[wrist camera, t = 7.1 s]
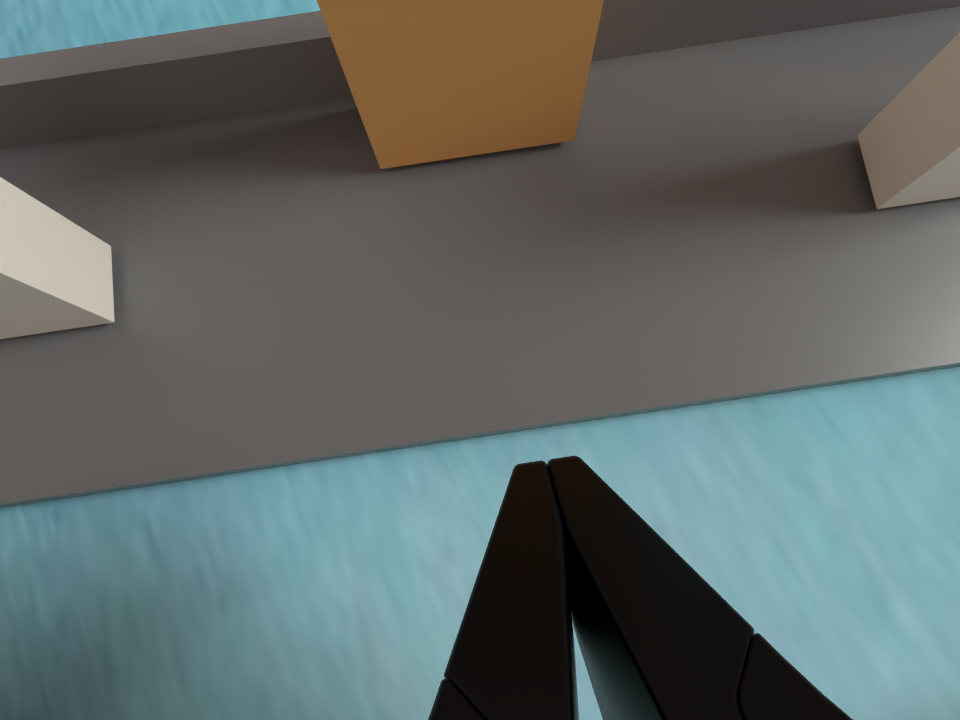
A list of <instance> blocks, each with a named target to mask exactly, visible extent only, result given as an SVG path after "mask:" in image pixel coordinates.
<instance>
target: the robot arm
mask: <svg viewBox="0 0 960 720" xmlns="http://www.w3.org/2000/svg"><path fill="white" fill-rule="evenodd" d="M572 621H573V625H574V629H575V632H576V636H577V639H578V643H579V646H580V649H581V652H582V655H583V659H584V662H585V665H586V668H587V671H588V674H589V677H590V680H591V683H592V687H593V690H594V693H595V696H596V699H597V702H598V705H599V708H600V711H601V714H602V718H603V720H853V719H852V718H850V717H849V716H848V715H847V714H846V713H844V712H843V711H842V710H841V709H840V708H839V707H837V706H836V705H835V704H834V703H833V702H831V701H830V700H829V699H828V698H827V697H825V696H824V695H823V694H822V693H821V692H820V691H819V690H818V689H817V688H816V687H815V686H814V685H812V684H811V683H810V682H809V681H808V680H807V679H806V678H805V677H804V676H803V675H802V674H801V673H800V672H798V671H797V670H796V669H795V668H794V667H793V666H792V665H791V664H790V663H789V662H788V661H787V660H786V659H784V658H783V657H782V656H781V655H780V654H779V653H778V652H777V651H776V650H775V649H774V648H773V647H772V646H771V645H770V644H769V643H768V642H767V641H766V640H765V639H764V638H763V637H762V636H761V635H760V634H758V633H757V634H754V629H753V627H752V626H751V625H750V624H749V623H748V622H747V621H746V620H745V619H744V618H743V617H742V616H741V615H740V614H739V613H738V612H736V611H735V610H734V609H733V608H732V607H731V606H730V605H729V604H728V603H727V602H726V601H725V600H724V599H723V598H722V597H721V596H720V595H719V594H718V593H717V592H716V591H715V590H714V589H713V588H712V587H711V586H710V585H709V584H708V583H707V582H706V581H705V580H704V579H703V578H702V577H701V576H700V575H699V574H698V573H697V572H696V571H695V570H694V569H693V568H692V567H691V566H690V565H689V564H688V563H687V562H686V561H685V560H684V559H683V558H682V557H680V556H679V555H678V554H677V553H676V552H675V551H674V550H673V549H672V548H671V547H670V546H669V545H668V544H667V543H666V542H665V541H664V540H663V539H662V538H661V537H660V536H659V535H658V534H657V533H656V532H655V531H654V530H653V529H652V528H651V527H650V526H649V525H648V524H647V523H646V522H645V521H644V520H643V519H642V518H641V517H640V516H639V515H638V514H637V513H636V512H635V511H634V510H633V509H632V508H631V507H630V506H629V505H628V504H627V503H626V502H625V501H623V500H622V499H621V498H620V497H619V496H618V495H617V494H616V493H615V492H614V491H613V490H612V489H611V488H610V487H609V486H608V485H607V484H606V483H605V482H604V481H603V480H602V479H601V478H600V477H599V476H598V475H597V474H596V473H595V472H594V471H593V470H592V469H591V468H590V467H589V466H588V465H587V464H586V463H585V462H584V461H583V460H582V459H581V458H579V457H577V456H570V457H563V458H556V459H551V460H549V461H548V464H546V463H545V462H544V461H536V462H529V463H522V464H518V465H516V466H515V468H514V469H513V472H512V475H511V478H510V481H509V484H508V487H507V490H506V493H505V496H504V499H503V502H502V505H501V507H500V510H499V513H498V516H497V519H496V522H495V525H494V528H493V531H492V534H491V537H490V540H489V543H488V546H487V549H486V552H485V555H484V558H483V561H482V564H481V567H480V570H479V573H478V575H477V578H476V581H475V584H474V587H473V590H472V593H471V596H470V599H469V602H468V605H467V608H466V611H465V614H464V617H463V620H462V623H461V626H460V629H459V632H458V635H457V638H456V641H455V644H454V646H453V649H452V652H451V655H450V658H449V661H448V664H447V667H446V670H445V673H444V677H445V679H443V680H442V681H441V684H440V687H439V690H438V693H437V696H436V699H435V702H434V705H433V707H432V710H431V713H430V716H429V718H428V720H579V712H578V697H577V681H576V666H575V651H574V638H573V626H572Z"/></svg>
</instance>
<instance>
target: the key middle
mask: <svg viewBox="0 0 960 720" xmlns="http://www.w3.org/2000/svg"><path fill="white" fill-rule="evenodd" d="M603 2H604V0H317V3H318V5H319V8H320V10H321V13H322V16H323V18H324V21H325V24H326V26H327V29H328V32H329V34H330V37H331V40H332V42H333V45H334V47H335V50H336V53H337V55H338V58H339V61H340V63H341V66H342V69H343V71H344V74H345V77H346V79H347V82H348V84H349V87H350V90H351V92H352V95H353V98H354V100H355V103H356V106H357V108H358V111H359V114H360V116H361V119H362V121H363V124H364V127H365V129H366V132H367V135H368V137H369V140H370V143H371V145H372V148H373V151H374V153H375V156H376V158H377V161H378V164H379V166H380V169H385V168H392V167H399V166H405V165H412V164H419V163H425V162H432V161H439V160H446V159H452V158H459V157H466V156H472V155H479V154H486V153H492V152H499V151H506V150H513V149H519V148H526V147H533V146H539V145H546V144H553V143H560V142H566V141H573V140H575V137H576V132H577V127H578V122H579V117H580V113H581V108H582V103H583V98H584V93H585V89H586V84H587V79H588V74H589V69H590V64H591V60H592V55H593V50H594V45H595V40H596V36H597V31H598V26H599V21H600V16H601V11H602V7H603Z"/></svg>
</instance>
